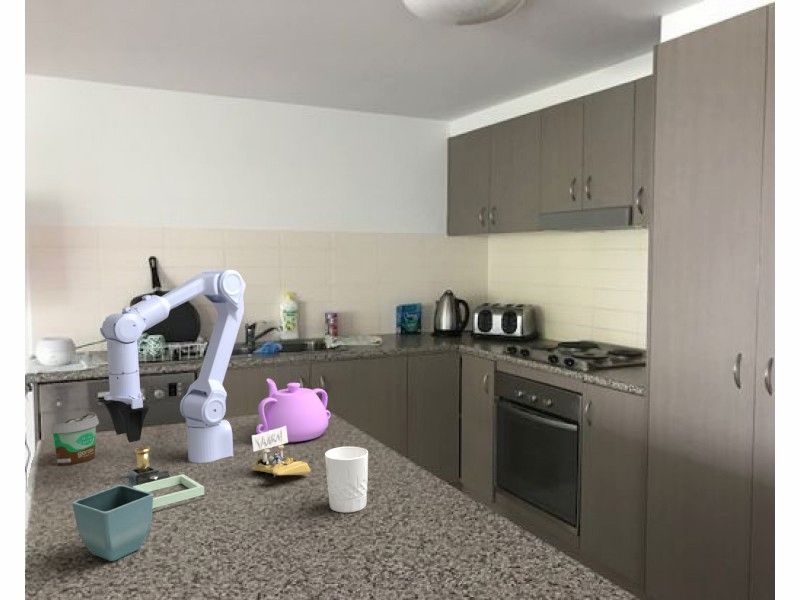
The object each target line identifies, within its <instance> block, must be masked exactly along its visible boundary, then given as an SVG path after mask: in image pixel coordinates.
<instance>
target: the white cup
mask: <svg viewBox="0 0 800 600" xmlns="http://www.w3.org/2000/svg"><path fill="white" fill-rule="evenodd" d="M324 456H325V457H324V459H325V472H326V473H325V474H326V484H327V493H328V501H329V507H330V509H331V510H332V511H334V512H338V513H355V512H358V511H361V510H363V509H365V508H366V506H367V504H368V503H367V499H368V498H367V496H368V493H367V492H368V478H369V476H368V475H369V473H368V472H369V451H368V450H367V449H366V448H363V447H360V446H341V447H340V446H339V447H335V448H331V449H329V450H327V451H325V453H324Z"/></svg>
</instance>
